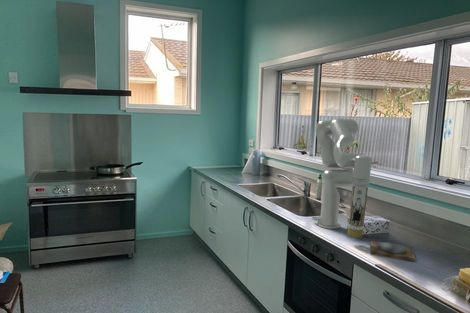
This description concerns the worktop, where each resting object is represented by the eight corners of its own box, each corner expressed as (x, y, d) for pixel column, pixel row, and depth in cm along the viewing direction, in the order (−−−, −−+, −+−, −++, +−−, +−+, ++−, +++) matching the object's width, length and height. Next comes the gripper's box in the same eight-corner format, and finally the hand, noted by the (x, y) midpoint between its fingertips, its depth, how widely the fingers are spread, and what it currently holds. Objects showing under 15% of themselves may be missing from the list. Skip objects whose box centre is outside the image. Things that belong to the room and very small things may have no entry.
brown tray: (370, 254, 162) (371, 248, 162) (370, 243, 176) (370, 238, 176) (414, 261, 156) (415, 256, 156) (411, 250, 170) (411, 245, 170)
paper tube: (350, 232, 178) (356, 182, 175) (364, 236, 174) (370, 185, 170) (345, 235, 173) (350, 184, 169) (359, 239, 169) (365, 187, 165)
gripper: (369, 186, 160) (364, 225, 163) (369, 179, 177) (365, 214, 179) (351, 184, 163) (347, 222, 166) (353, 177, 179) (349, 212, 182)
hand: (356, 218), depth 172 cm, fingers closed on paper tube, 6 cm apart
